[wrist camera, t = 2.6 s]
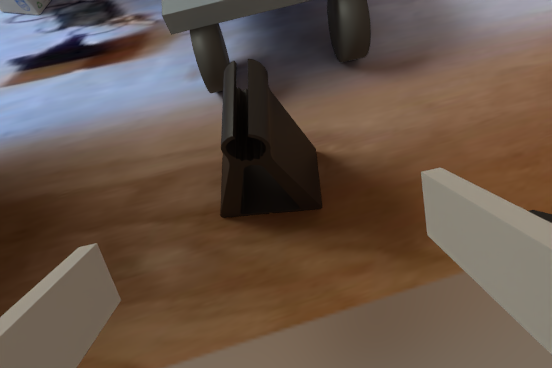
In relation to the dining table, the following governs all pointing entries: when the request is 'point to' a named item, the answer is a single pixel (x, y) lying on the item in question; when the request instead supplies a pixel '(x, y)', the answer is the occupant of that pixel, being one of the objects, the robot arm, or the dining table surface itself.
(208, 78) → the trolley
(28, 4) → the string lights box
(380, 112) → the dining table surface
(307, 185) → the phone stand
